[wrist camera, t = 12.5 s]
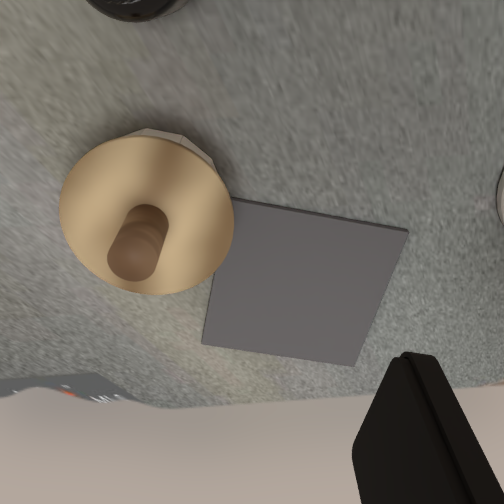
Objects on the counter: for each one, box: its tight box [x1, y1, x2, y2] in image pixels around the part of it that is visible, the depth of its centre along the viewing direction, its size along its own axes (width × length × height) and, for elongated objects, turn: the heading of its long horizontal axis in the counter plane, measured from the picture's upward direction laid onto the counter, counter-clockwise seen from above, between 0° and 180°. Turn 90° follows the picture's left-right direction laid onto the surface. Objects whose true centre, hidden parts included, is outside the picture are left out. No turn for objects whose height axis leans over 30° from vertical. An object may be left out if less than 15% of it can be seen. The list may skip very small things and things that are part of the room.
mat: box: [201, 197, 409, 367], centre depth 45 cm, size 16×16×1 cm
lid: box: [59, 135, 234, 295], centre depth 34 cm, size 13×13×6 cm
